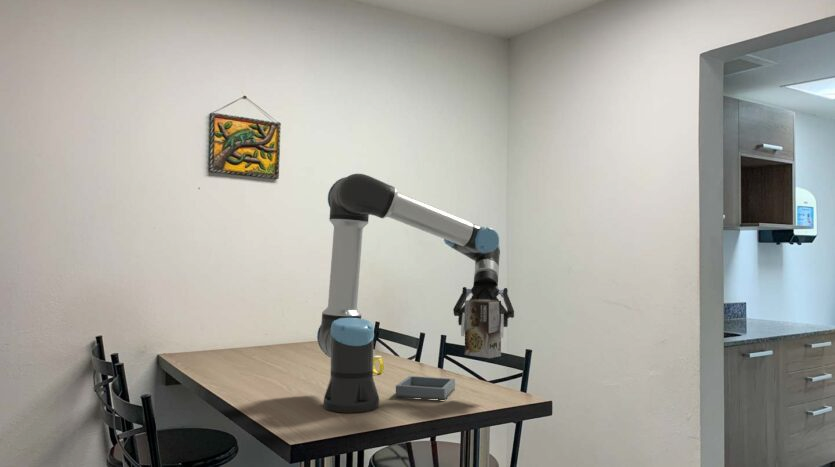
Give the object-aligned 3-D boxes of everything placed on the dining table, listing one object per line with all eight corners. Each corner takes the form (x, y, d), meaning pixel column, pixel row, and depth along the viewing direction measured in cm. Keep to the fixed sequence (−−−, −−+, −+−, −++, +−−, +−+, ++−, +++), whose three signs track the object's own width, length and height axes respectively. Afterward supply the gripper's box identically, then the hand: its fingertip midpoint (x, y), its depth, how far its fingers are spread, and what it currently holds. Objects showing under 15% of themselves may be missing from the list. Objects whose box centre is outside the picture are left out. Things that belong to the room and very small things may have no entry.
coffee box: (501, 356, 178) (502, 300, 179) (488, 358, 174) (489, 301, 174) (476, 352, 185) (477, 298, 185) (463, 354, 180) (464, 299, 180)
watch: (385, 374, 212) (385, 357, 212) (378, 375, 210) (379, 358, 210) (375, 370, 217) (376, 354, 217) (368, 371, 215) (369, 354, 215)
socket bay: (444, 401, 174) (444, 389, 174) (395, 397, 178) (395, 385, 178) (454, 390, 188) (454, 378, 188) (409, 387, 192) (409, 375, 192)
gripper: (523, 286, 193) (522, 343, 177) (450, 284, 197) (443, 340, 181) (523, 269, 188) (522, 327, 172) (448, 268, 192) (441, 324, 176)
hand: (482, 334), depth 176 cm, fingers closed on coffee box, 11 cm apart
